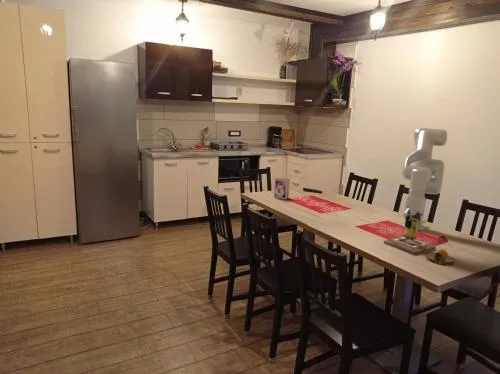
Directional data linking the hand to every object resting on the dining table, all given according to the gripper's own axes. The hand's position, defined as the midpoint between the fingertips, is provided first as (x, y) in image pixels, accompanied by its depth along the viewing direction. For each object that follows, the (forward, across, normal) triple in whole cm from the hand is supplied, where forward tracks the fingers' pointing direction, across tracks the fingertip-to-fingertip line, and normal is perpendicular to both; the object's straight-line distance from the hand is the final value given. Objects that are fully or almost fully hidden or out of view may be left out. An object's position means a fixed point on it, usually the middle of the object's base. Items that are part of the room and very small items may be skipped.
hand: (412, 226), depth 198 cm
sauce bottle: (+7, 0, 0) cm, 7 cm away
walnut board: (+11, 0, 0) cm, 11 cm away
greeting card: (+11, 0, -112) cm, 113 cm away
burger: (+12, +3, +19) cm, 22 cm away
